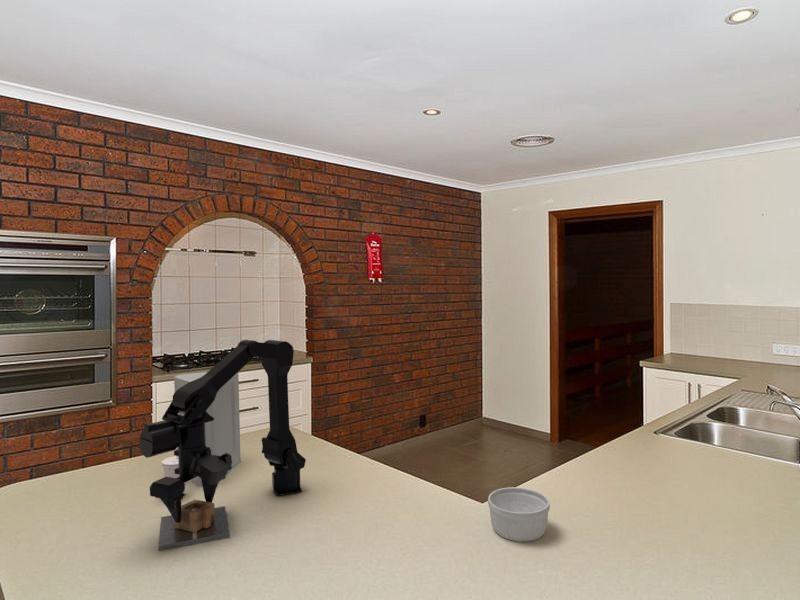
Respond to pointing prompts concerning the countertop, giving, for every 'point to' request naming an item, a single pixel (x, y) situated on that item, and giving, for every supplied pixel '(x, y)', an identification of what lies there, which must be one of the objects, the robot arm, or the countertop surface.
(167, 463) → the smoothie
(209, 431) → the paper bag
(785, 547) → the countertop surface
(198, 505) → the wooden cubby with handle
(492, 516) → the ramekin
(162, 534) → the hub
